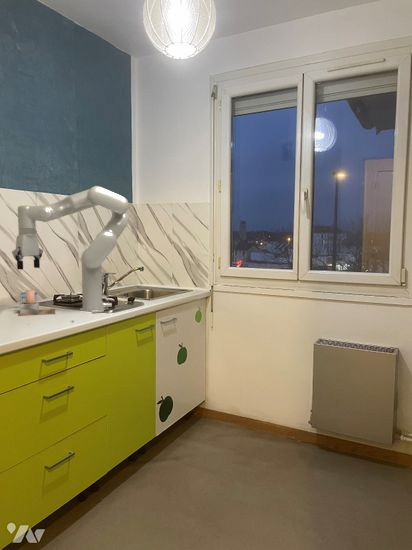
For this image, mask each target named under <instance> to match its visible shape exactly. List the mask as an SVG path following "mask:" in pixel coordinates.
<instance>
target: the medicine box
mask: <svg viewBox="0 0 412 550" xmlns="http://www.w3.org/2000/svg"><path fill="white" fill-rule="evenodd" d="M19 295H20V297H19V298H20V299H19V300H20V303H21V302H26V291H21V292H20V294H19ZM35 302H38V291H35Z"/></svg>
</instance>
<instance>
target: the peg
mask: <svg viewBox="0 0 412 550" xmlns="http://www.w3.org/2000/svg"><path fill="white" fill-rule="evenodd" d="M25 292H26V304H35V292H36V291H35V290H33V289H29V290H27V289H26V290H25Z"/></svg>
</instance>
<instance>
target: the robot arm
mask: <svg viewBox="0 0 412 550" xmlns="http://www.w3.org/2000/svg"><path fill="white" fill-rule="evenodd" d="M97 206H99V207H102V208H105V209H107V210H110V211H111V217H110V218H109V221H107V223H106V224H105V226H104V227H103V228H102V229H101V230H100V232H99V233H97V235H96V237H95V238H94V239H93V241H92V242H91V243H90V245H89V246H88V247H87V248H86V249H85V250H83V252H82V254H81V259H80V261H81V292H82V293H81V295H82V297H81V298H82V302H81V303H82V307H80V308H79V310H80V311H82V312H91V313H92V314H97V313H103V312H105V311H106V308H107V307H108V308H109V307H110V308H112V307H113V306H112V305H113V304H112V302H104V301H103V286H102V285H103V275H102V273H103V272H102V271H103V269H102V267H103V266H102V264H103V263H104V261H105V260H106V259H107V258H108V256H109V255H110V254H111V253H112V251H113V250H114V248H115V247H116V246H117V242H118V241H117V240H118V239H119V238H120V236H121V234H122V233H123V232H124V231H125V230H126V228H127V226H128V223H129V219H130V215H129V207H130V204H129V200H128V199H127V198H126V197H124V196H122V195H120V194H119V193H116V192H114V191H112V190H110V189H107V188H104V187H103V186H99V185H95V186H92V187H91V188H88V189H86V190H82V191H80V192H77V193H74V194H70V195H68V196H65V197H64V198H63V199H61V200H59V201H57V202H56V201H55V202H54V203H51V204H48V205H45V204H44V205H36V206H35V205H34V206H33V205H19V206H18V207H17V225H18V229H17V230H18V235H16V240H15V249H13V250H12V251H11V254H12V256H13V258H14V259H15V261H16V268H17V270H24V261H23V259H24V257H32V258H33V268H34V269H40V268H41V265H40V264H41V263H40V260H41V258H42V256H43V253H44V250H43V249H41V248H40V246H39V239H38V235H37V233H38V230H37V229H36V227H37V226H36V224H37V223H36V221H39V222H41V223H42V222H43V223H48V222H50V221H51V222H52V221H54V220H56V219H60V218H62V217H65V216H70V215H73V214H76V213H78V212H82V211H84V210H87V209H90V208H93V207H94V208H95V207H97ZM104 310H105V311H104Z"/></svg>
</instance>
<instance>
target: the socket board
mask: <svg viewBox="0 0 412 550" xmlns="http://www.w3.org/2000/svg"><path fill="white" fill-rule="evenodd" d="M45 315H47V316H48V315H56V308H48V309H46V308H45V309H40V302H39V301H37V302H35V304H26V302H21V301H20V303H19V312H18V315H17V316H18V317H21V316H22V317H24V316H26V317H27V316H28V317H29V316H45Z"/></svg>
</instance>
